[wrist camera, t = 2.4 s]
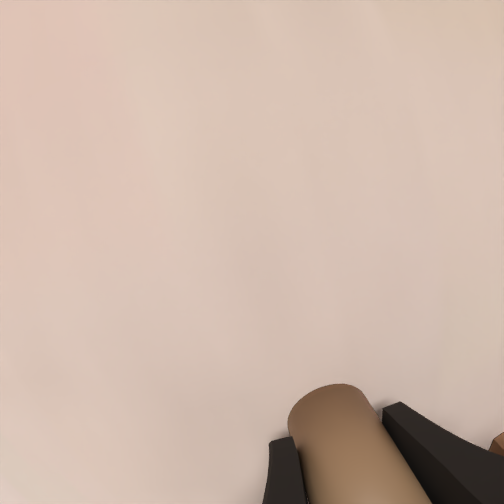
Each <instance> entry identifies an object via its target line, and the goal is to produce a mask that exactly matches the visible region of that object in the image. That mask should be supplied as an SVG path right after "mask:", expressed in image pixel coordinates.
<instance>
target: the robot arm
mask: <svg viewBox="0 0 504 504" xmlns="http://www.w3.org/2000/svg"><path fill="white" fill-rule="evenodd" d="M382 424H383V425H384V427H385V428H386V430H387V432H388V433H389V435H390V436H391V438H392V440H393V441H394V443H395V444H396V446H397V448H398V449H399V451H400V452H401V454H402V456H403V457H404V459H405V460H406V462H407V464H408V465H409V467H410V469H411V470H412V472H413V473H414V475H415V477H416V478H417V480H418V481H419V483H420V485H421V486H422V488H423V490H424V491H425V493H426V495H427V496H428V498H429V499H430V501H431V503H432V504H504V456H502V455H499V454H496V453H493V452H490V451H488V450H485V449H483V448H480V447H478V446H476V445H474V444H472V443H470V442H467V441H465V440H463V439H461V438H459V437H458V436H456V435H454V434H452V433H450V432H449V431H447V430H445V429H443V428H441V427H440V426H438V425H436V424H435V423H433V422H432V421H430V420H428V419H427V418H425V417H424V416H422V415H421V414H419V413H417V412H416V411H414V410H413V409H411V408H410V407H408V406H407V405H405V404H404V403H402V402H398V403H395V404H393V405H390V406H387V407H385V408H383V414H382ZM262 504H308V500H307V495H306V491H305V487H304V482H303V476H302V471H301V466H300V462H299V457H298V453H297V449H296V446H295V443H294V440H293V436H291V437H286V438H282V439H278V440H273V441H271V442H270V443H269V468H268V477H267V483H266V488H265V493H264V499H263V503H262Z"/></svg>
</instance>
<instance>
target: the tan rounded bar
mask: <svg viewBox="0 0 504 504" xmlns="http://www.w3.org/2000/svg"><path fill="white" fill-rule="evenodd" d="M288 429H289V433H290V436H293V440H294V443H295V446H296V449H297V453H298V457H299V462H300V466H301V471H302V476H303V482H304V487H305V491H306V494H307V498H308V501H309V504H432V503H431V501H430V499H429V498H428V496H427V495H426V493H425V491H424V490H423V488H422V486H421V485H420V483H419V481H418V480H417V478H416V477H415V475H414V473H413V472H412V470H411V469H410V467H409V465H408V464H407V462H406V460H405V459H404V457H403V456H402V454H401V452H400V451H399V449H398V448H397V446H396V444H395V443H394V441H393V440H392V438H391V436H390V435H389V433H388V432H387V430H386V428H385V427H384V425H383V424H382V422H381V421H380V419H379V417H378V416H377V414H376V413H375V411H374V409H373V408H372V406H371V405H370V403H369V402H368V400H367V398H366V397H365V395H364V394H363V393H362V391H361V390H359V389H358V388H356V387H354V386H351V385H347V384H333V385H328V386H324V387H321V388H318V389H316V390H314V391H312V392H310V393H308V394H307V395H305V396H304V397H303V398H302V399H300V400H299V401H298V402H297V403H296V404H295V406H294V407H293V408H292V410H291V412H290V414H289V417H288Z"/></svg>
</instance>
